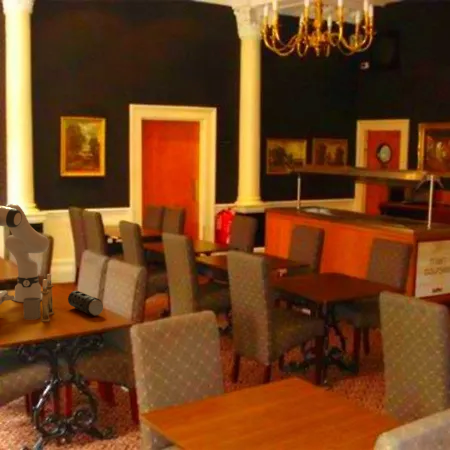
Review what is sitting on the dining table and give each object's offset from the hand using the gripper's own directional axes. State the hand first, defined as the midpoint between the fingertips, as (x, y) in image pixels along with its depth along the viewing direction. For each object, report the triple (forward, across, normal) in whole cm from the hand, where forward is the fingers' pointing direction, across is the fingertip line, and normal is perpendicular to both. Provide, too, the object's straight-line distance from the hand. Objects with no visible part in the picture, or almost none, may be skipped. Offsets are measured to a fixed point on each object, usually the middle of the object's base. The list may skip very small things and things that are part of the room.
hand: (13, 297), depth 366 cm
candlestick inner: (+17, +9, +11) cm, 22 cm away
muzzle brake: (+36, +10, +11) cm, 39 cm away
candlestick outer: (+17, -7, +11) cm, 22 cm away
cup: (+9, +1, +11) cm, 14 cm away
